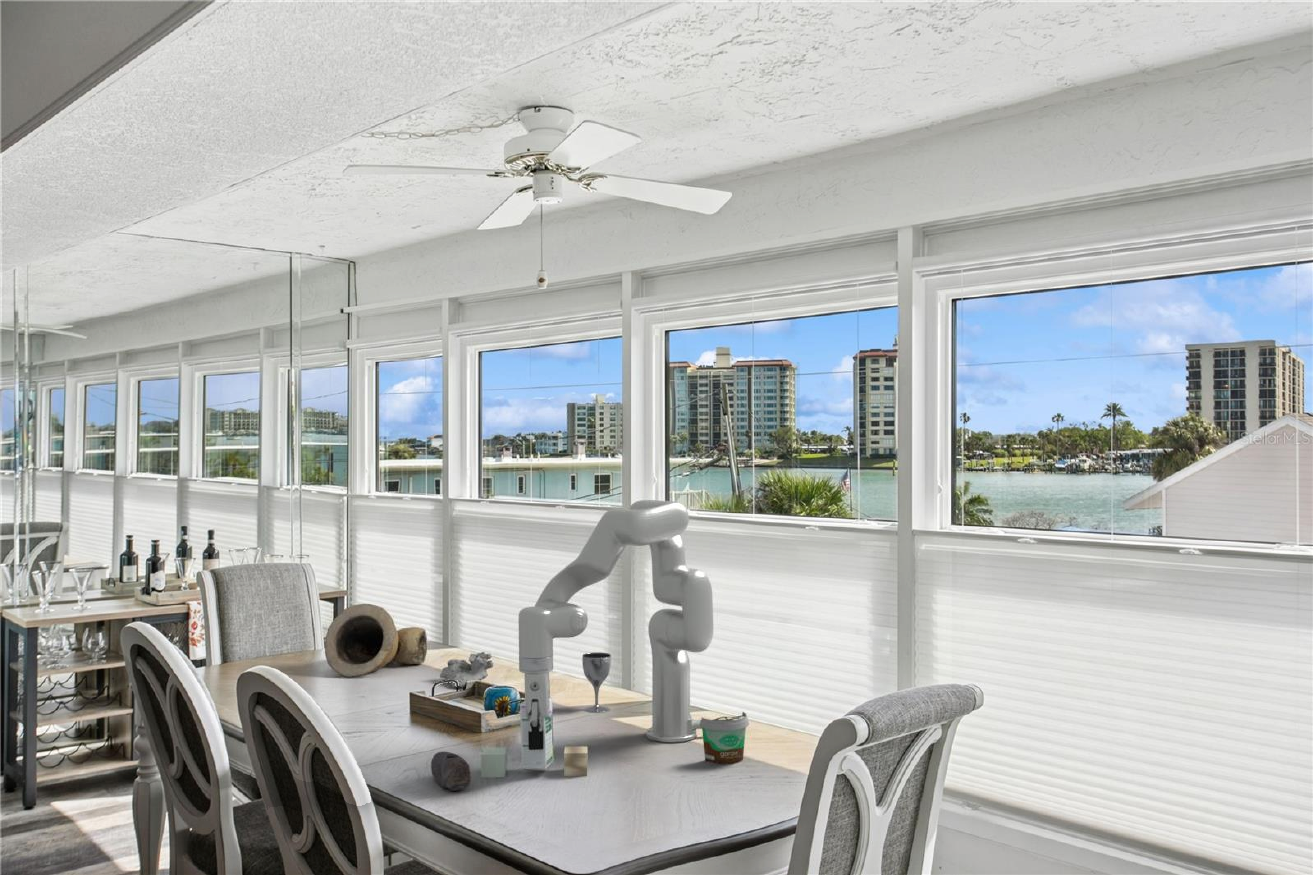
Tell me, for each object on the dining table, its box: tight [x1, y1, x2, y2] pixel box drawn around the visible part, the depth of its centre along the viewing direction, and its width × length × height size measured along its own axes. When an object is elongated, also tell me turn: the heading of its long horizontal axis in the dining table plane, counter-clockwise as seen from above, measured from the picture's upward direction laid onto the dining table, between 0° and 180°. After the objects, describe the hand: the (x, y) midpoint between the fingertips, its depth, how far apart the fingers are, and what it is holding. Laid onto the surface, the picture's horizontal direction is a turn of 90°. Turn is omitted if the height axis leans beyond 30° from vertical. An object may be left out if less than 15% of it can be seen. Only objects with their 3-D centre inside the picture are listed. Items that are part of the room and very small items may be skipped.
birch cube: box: [563, 746, 588, 777], centre depth 214 cm, size 5×5×5 cm
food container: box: [699, 711, 750, 765], centre depth 222 cm, size 12×6×10 cm, turn 117°
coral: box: [439, 651, 494, 688], centre depth 300 cm, size 17×14×10 cm
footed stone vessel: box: [324, 603, 428, 677], centre depth 322 cm, size 23×29×30 cm
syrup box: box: [519, 696, 555, 770], centre depth 214 cm, size 6×6×14 cm
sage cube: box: [480, 747, 508, 778], centre depth 213 cm, size 5×5×5 cm
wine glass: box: [581, 651, 612, 714], centre depth 268 cm, size 8×8×15 cm
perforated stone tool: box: [430, 751, 472, 792], centre depth 205 cm, size 15×5×7 cm, turn 33°
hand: (537, 743), depth 214 cm, fingers closed on syrup box, 6 cm apart
